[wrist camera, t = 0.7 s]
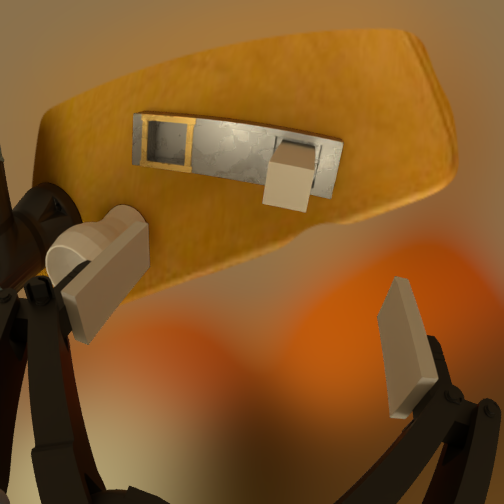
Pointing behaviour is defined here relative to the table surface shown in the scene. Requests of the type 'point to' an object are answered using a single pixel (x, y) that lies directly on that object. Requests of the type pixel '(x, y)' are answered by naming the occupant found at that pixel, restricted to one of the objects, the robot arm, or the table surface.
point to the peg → (290, 176)
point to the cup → (87, 241)
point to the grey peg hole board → (226, 147)
